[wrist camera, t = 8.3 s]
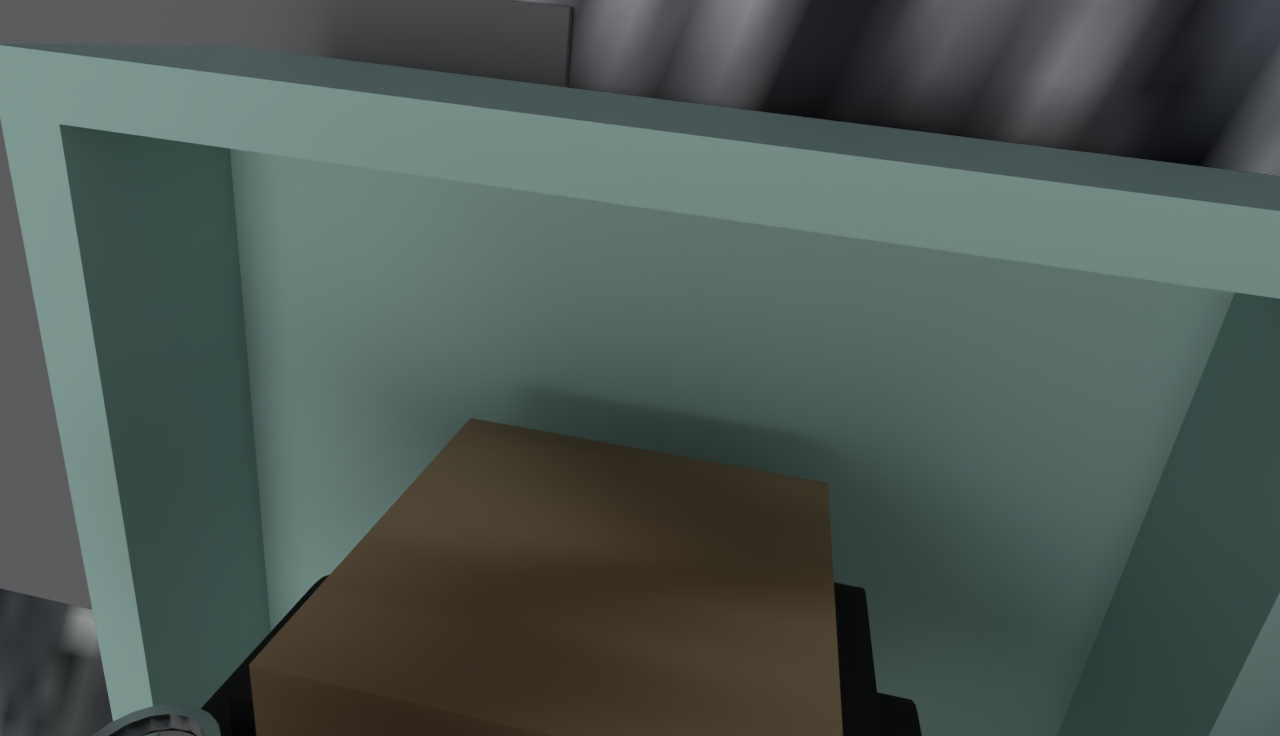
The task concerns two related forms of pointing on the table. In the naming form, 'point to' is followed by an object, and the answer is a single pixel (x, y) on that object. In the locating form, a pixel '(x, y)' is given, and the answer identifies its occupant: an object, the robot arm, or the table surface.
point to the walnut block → (569, 602)
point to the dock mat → (205, 16)
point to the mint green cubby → (660, 359)
